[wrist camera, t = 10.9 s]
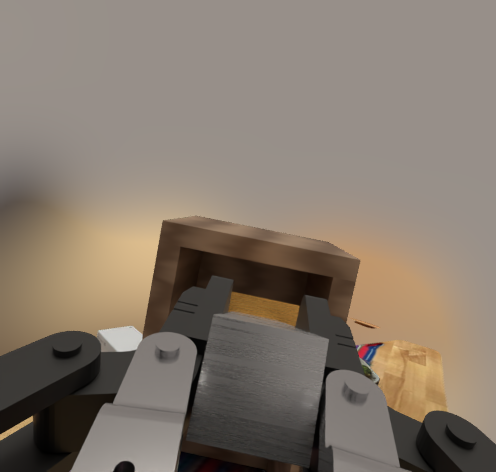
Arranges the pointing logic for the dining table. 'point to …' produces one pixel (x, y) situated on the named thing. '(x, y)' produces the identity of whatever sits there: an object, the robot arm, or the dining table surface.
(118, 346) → the skincare box
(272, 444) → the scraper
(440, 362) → the dining table surface
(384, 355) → the dining table surface
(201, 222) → the walnut shelf
